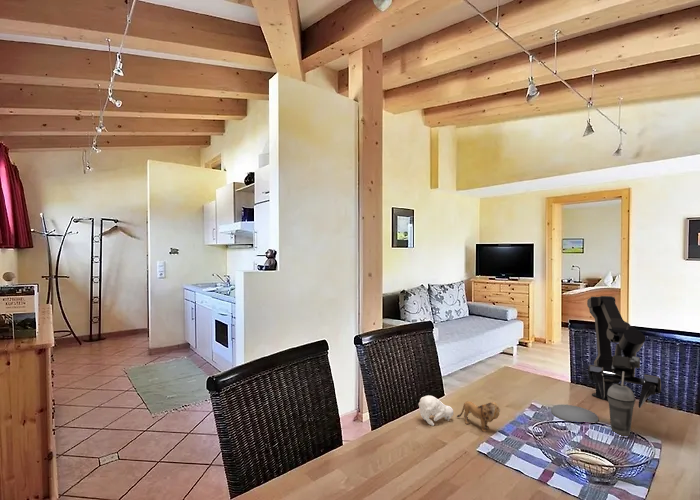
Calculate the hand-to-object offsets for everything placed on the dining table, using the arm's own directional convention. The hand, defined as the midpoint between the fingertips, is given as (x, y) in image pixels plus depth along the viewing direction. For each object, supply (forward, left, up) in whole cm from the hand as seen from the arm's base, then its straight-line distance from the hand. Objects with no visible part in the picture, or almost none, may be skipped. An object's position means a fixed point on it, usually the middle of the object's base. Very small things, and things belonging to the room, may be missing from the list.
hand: (620, 402), depth 117 cm
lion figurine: (+34, -25, -10) cm, 43 cm away
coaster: (-2, -15, -10) cm, 18 cm away
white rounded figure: (+43, -34, -10) cm, 56 cm away
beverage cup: (-1, 0, -10) cm, 10 cm away
